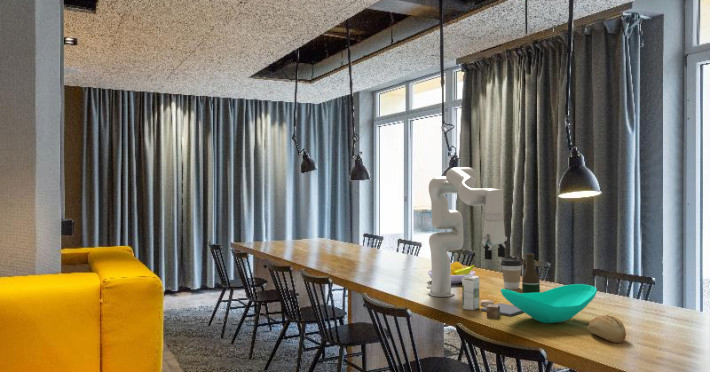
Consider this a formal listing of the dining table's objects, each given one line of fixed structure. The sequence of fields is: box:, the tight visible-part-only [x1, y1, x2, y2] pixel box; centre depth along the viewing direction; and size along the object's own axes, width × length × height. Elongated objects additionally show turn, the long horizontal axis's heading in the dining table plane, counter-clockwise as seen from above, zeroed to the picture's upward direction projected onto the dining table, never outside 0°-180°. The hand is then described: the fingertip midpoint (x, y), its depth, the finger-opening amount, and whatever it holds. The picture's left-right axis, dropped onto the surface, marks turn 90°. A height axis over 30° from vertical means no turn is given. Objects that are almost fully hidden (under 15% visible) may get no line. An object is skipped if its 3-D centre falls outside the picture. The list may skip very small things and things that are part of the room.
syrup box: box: [461, 275, 480, 311], centre depth 250 cm, size 6×6×14 cm
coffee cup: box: [500, 258, 523, 290], centre depth 296 cm, size 11×11×15 cm
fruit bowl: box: [427, 261, 476, 285], centre depth 316 cm, size 28×27×11 cm
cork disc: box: [479, 299, 495, 307], centre depth 257 cm, size 6×6×2 cm
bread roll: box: [588, 314, 627, 344], centre depth 200 cm, size 10×15×8 cm, turn 18°
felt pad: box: [480, 302, 524, 317], centre depth 245 cm, size 15×15×1 cm
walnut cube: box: [485, 304, 501, 319], centre depth 235 cm, size 4×4×4 cm
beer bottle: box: [521, 252, 541, 293], centre depth 252 cm, size 8×8×24 cm
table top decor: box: [500, 283, 598, 324], centre depth 225 cm, size 40×28×13 cm
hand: (495, 258), depth 237 cm, fingers open, 9 cm apart
